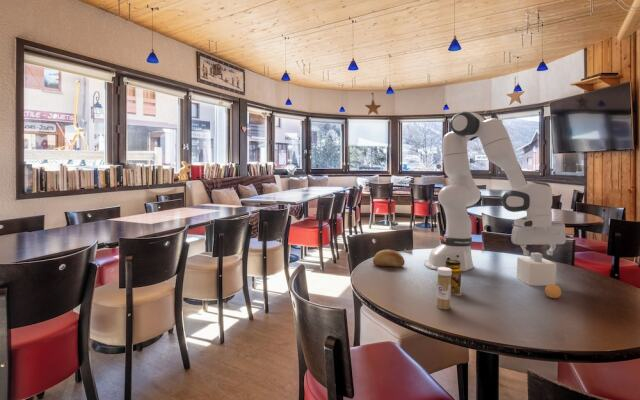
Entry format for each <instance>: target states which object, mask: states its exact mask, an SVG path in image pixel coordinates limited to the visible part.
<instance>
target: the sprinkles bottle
mask: <svg viewBox="0 0 640 400" xmlns="http://www.w3.org/2000/svg"><path fill="white" fill-rule="evenodd" d="M436 272H437V273H436V274H437V288H436V308H438V309H441V310H449V309H450V308H451V296H452V295H451V275H452V269H450V268H447V267H439V268H438V270H436Z"/></svg>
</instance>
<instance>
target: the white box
mask: <svg viewBox="0 0 640 400" xmlns="http://www.w3.org/2000/svg"><path fill="white" fill-rule="evenodd" d="M556 278H557V263H555V262H553V261H550V260H549V259H546V258H544V257H543V254H542V253H540V252H530V257H528V256H527V257H525V256H524V257H519V256H518V257H517V258H516V279H518V280H519V281H521V282H523V283H525V284H526V285H528V286H545V287H546V286H547V285H549V284H555V285H556Z"/></svg>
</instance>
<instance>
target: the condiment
mask: <svg viewBox="0 0 640 400" xmlns="http://www.w3.org/2000/svg"><path fill="white" fill-rule="evenodd" d="M445 267H447V268H450V269H452V275H451V296H463V294H462V293H463V292H462V289H461V286H462V284H461V283H462V271H461V268H460V261H458V260H446V264H445Z"/></svg>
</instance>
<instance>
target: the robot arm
mask: <svg viewBox="0 0 640 400" xmlns="http://www.w3.org/2000/svg"><path fill="white" fill-rule="evenodd" d="M449 127H450V129H451V130H452V131H449V132H447V133H446V134H444V136H443V137H442V160H443V170H444V173H445V175H446V176H447V177H448V179H449V181H450V183H451V184H448V185H446V186H444V187H441V189H440V190H439V192H438V193H437V194H438V196H437V199H438V203H439V204H440V205H441V206H442V208H443V211H444V214H445V222H446V223H445V225H446V226H445V227H446V228H445V229H446V230H445V233H446V234H445V235H444V236H443V235H440V236H439V237H438V240H440V241H441V244H439V245H437V246H436V247H435V248H433V249H432V250H431V251H430V252H429V255H428V259H425V260H424V261H423V264H424V266H425V267H426V268H427V269H431V270H436V271H437V270H438V268H439V267H445V264H446V260H458V261H460V268H461V272H468V271H469V270H471V269H474V267H475V266H474V262H473V258H472V257H473V256H472V247H473V238H472V223H473V222H472V219H471V218H470V217H469V214H468V209H467V207H472V206H473V205H475V204H477V203H478V202H479V200H480V199H481V194H482V193H481V190H480V188H479V187H478V186H477V185H476V183H475V180H474V178H473V175H472V172H471V169H470V162H469V154H468V141H469V142H470V141H471V142H472V141H474V140H475V139H477V138H479V140H480V143H481V146H482V148H483V152H484V154H485V156H486V157H487V160H488V161H489V162H490V163H491V164H494V165H495V166H497V167H499V168H501V170H502V171H503V172H504V173H505V175H506V178H507V179H508V182H509V185H510V187H511V189H510V190H507V191H506V192H504V194H503V195H502V196H501V205H502V206H503V208H504V209H505V210H506V211H508V212H511V213H519V212H526V216H523V217H519V218H517V219H514V221H513V225H514V226H513V227H512V230H511V237H510V238H511V239H510V240H511V243H512V244H514V245H518V246H520V248H521V250H522V252H523V253H522V254H523V256H530V250H527V247H528V246H527V245H530V246H531V245H549V246H550V247H549V249H547V250H546V255H548V256H553V254H554V251H555V249H556V247H557V245H564V244H565V243H566V242H567V241H566V239H567V237H566V225H565V223H564V222H562V221H559V220H557V221H553V212H552V207H553V190H552V186H551V185H550V184H549V183H547V182H545V181H544V182H543V181H537V180H535V181H534V180H532V181H529V182H527V179H526V176H525V173H524V172H523V170H522V167H521V166H520V163H519V161H518V158H517V155H516V153H515V149H514V147H513V143H512V140H511V137H510V136H509V135H510V134H509V132H508V131H507V128H506V127H505V125H504V123H503V122H502V121H501V119H500V118H498V117H497V118H495V117H492V118H488V119H486V117H485V116H483V115H482V114H478V113H476V112H473V111H471V112H470V111H460V112H457V113H456V114H454V115H453V116H452V117H451V120H450V126H449Z"/></svg>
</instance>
